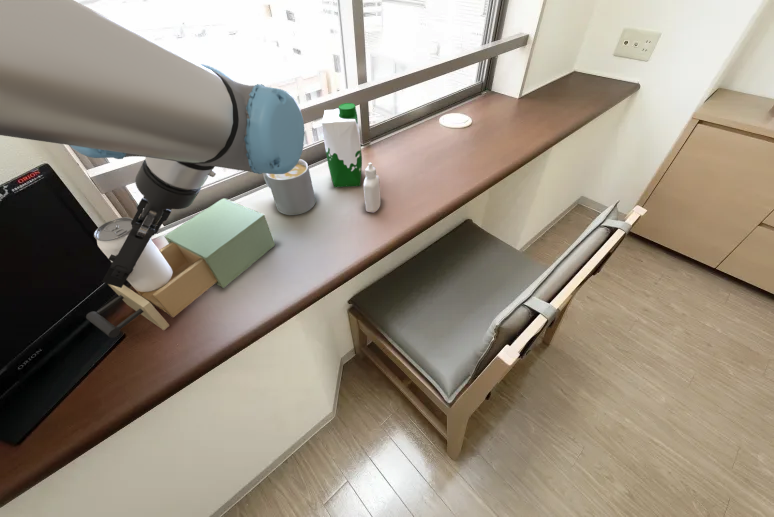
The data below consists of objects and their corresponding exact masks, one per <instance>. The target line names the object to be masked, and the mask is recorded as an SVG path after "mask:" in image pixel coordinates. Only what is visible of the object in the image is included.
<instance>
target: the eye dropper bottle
mask: <svg viewBox="0 0 774 517" xmlns="http://www.w3.org/2000/svg"><path fill="white" fill-rule="evenodd" d="M367 164H368V165H367V166H366V167H365V170H364V173H365V178H364V180H363V195H364V204H365V205H364V207H365V212H367V213H376V212H377V211H378V210H379V209H380V207H381V205H382V200H381V199H382V198H381V185H380V184H381V182H380V176H379V175H378V174H377V168H376V166H373V163H372V162H368V163H367Z"/></svg>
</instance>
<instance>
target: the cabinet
mask: <svg viewBox="0 0 774 517" xmlns="http://www.w3.org/2000/svg"><path fill="white" fill-rule="evenodd" d="M163 237H164V238H165V240H166V242H167V244H169V243H171V242H173V243H175V244H176V245H178V246H180V247H182V248H184V249H186V250H188V251H190V252H192V253H194V254H195V255H197V256H199V257H201V258H203V259H205V261H206V262H207V264H208V266H209V267H210V269H211V271H212V273H213V274H214V276H215V278H216V279H217V281H218V282H216V283H215V284H214V285H217V286H218V287H221V288H222V289H225V288H226V287H227V286H228V285H229V284H231V283H232V282H233V281H234V280H235V279H237V278H238V277H240V275H241V274H242V273H244V272H245V271H247V270H248V268H250V267H251V266H252V265H253V264H254V263H256V262H257V261H258V260H259V259H261V258H262V257H263V256H264V255H265V254H266V253H267V252H269V251H270V250H271V249H272V248H273V247H275V246H276V243H275V240H274V237H273V235H272V232H271V229H270V226H269V223H268V221H267V218H266V214H265V213H262V212H259V211H257V210H254V209H252V208H249V207H247V206H244V205H242V204H239V203H237V202H234V201H232V200H229V199H228V198H224V197H223V198H221V199H220V200H218V201H216V202H215V203H214V204H212V205H210V206H209V207H207V208H205V209H204V210H202V211H201V212H199V213H197V214H196V215H195V216H193V217H191V218H190V219H188V220H187V221H185V222H183V223H182V224H181V225H179V226H177V227H176V228H174V229H172V230H171V231H169V232H168V233H167V234H165V235H164V236H163Z"/></svg>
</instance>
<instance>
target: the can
mask: <svg viewBox="0 0 774 517" xmlns="http://www.w3.org/2000/svg"><path fill="white" fill-rule="evenodd" d="M132 220H133V218H131V217H127V216H126V217H125V216H124V217H118V218H114V219H111V220H108V221H106V222H104V223H103V224H101V225H99V226H98V228H96V229H95V231H94V232H93V237H94V238H95V240H96V244H97V247H98V248H99V249H100V251H101V252H102V253H103V254H104V255H105V256H106V258H107V259H109V257H110V256H111V254H112V255H115V256H116V255H118V253H119V251H120V250H121V248H122V246H123V244H124V242H125V240H126V239H127V237H128V235H129V233H130V231H131V229H132V225H131V222H132ZM159 250H160V249H159V248H158V247H157V245H156V244H155V242H154V241H153V240H152V237H151V238H150V240H149V242H148V243H147V245H146V247H145V248H144V250H143V252H142V254H141V255H140V257H139V259H138V260H137V262H136V265H135V266H134V268H133V271H132V272H131V273H130V274H129V276H128V278H127V279H126V281H127V282H128V283H129V284H130V285H131V287H133V289H134V288H135V289H136V290H137V291H140V292H151V291H155V290H157V289H160V288H161V287H163V286H164V285H166V284H167V283H168V282H169V281H170V279H171V277H172V274H173V271H172V269H171V267H170V266H169V264H168V263H167V261H166V260H165V258H164V257H163V255H162V254H161V253H160V251H159ZM112 262H113V261H110V263H112ZM135 289H134V290H135ZM136 290H135V291H136ZM137 291H136V292H137Z"/></svg>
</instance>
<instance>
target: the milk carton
mask: <svg viewBox="0 0 774 517" xmlns="http://www.w3.org/2000/svg"><path fill="white" fill-rule="evenodd" d="M356 106H357V105H356V104H355V103H352V102H344V103H341V104H339V105H338V108H335V109H326V110H325V109H324V112H323V116H322V120H321V127H322V128H321V129H322V137H323V143H324V148H325V155H326V161H327V167H328V170H329V174H330V177H331V182H332V184H333V188H351V187H361V182H362V169H363V156H362V144H361V133H360V126H359V119H358V113H357V112H358V111H357V108H356Z"/></svg>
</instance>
